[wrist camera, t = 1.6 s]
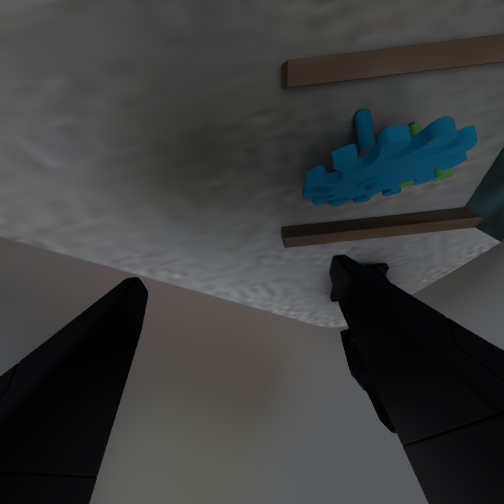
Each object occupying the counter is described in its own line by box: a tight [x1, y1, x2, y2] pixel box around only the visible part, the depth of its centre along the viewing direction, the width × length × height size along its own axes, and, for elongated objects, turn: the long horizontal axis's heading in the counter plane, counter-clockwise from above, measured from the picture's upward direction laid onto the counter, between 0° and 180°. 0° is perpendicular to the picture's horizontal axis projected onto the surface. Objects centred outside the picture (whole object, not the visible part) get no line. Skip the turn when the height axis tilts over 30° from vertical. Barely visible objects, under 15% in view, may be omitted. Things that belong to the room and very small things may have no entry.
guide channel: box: [281, 34, 504, 248], centre depth 15 cm, size 14×22×4 cm, turn 95°
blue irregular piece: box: [302, 109, 478, 206], centre depth 14 cm, size 11×6×10 cm
